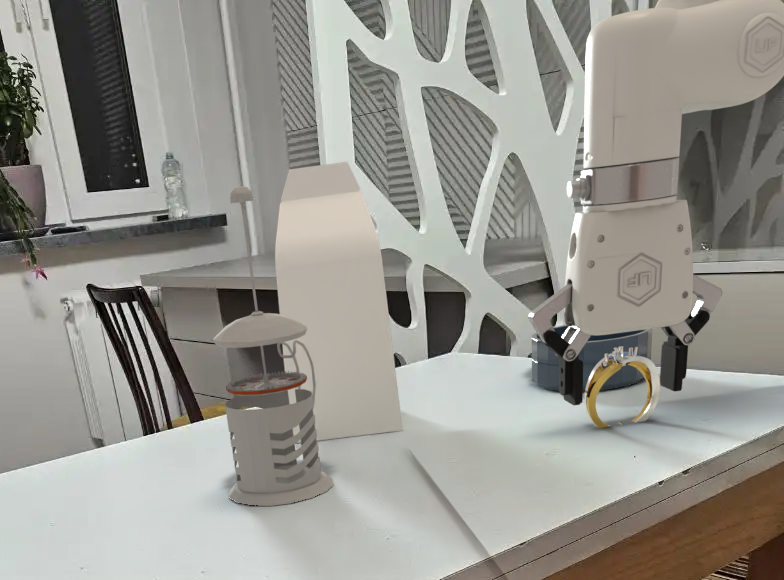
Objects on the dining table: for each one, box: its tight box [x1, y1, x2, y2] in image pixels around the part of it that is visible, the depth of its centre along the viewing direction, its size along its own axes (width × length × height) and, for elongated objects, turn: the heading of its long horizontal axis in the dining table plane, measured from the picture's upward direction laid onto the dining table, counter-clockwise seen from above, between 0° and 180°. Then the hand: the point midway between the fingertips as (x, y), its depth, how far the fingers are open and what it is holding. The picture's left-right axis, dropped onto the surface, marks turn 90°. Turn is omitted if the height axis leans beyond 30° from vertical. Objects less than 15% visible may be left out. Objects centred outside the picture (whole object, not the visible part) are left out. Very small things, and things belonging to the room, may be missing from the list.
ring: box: [583, 346, 661, 429], centre depth 84 cm, size 7×3×8 cm, turn 96°
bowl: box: [531, 324, 653, 393], centre depth 106 cm, size 13×13×6 cm
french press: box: [212, 185, 334, 507], centre depth 78 cm, size 10×12×25 cm
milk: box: [274, 161, 404, 444], centre depth 96 cm, size 12×12×26 cm
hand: (621, 394), depth 84 cm, fingers open, 8 cm apart
